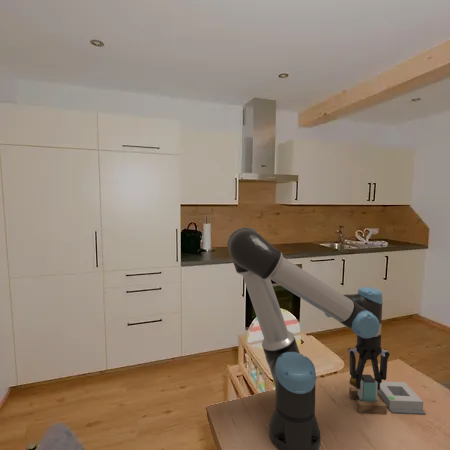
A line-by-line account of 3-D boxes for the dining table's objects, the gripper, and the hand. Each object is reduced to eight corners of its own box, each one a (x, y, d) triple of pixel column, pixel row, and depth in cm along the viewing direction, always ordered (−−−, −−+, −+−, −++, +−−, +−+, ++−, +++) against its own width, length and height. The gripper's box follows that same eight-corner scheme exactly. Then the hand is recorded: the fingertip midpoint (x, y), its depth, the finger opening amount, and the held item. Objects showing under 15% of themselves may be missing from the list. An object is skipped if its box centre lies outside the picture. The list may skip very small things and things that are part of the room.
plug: (363, 408, 101) (364, 380, 100) (358, 400, 105) (359, 373, 104) (375, 408, 100) (376, 380, 100) (370, 401, 104) (371, 374, 104)
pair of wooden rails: (359, 413, 98) (359, 404, 98) (349, 395, 107) (349, 387, 107) (386, 414, 98) (386, 405, 97) (374, 396, 107) (374, 388, 107)
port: (391, 413, 98) (392, 402, 98) (373, 387, 112) (373, 377, 112) (425, 414, 97) (426, 403, 97) (402, 388, 111) (403, 378, 111)
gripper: (347, 336, 98) (345, 403, 99) (400, 338, 97) (398, 405, 98) (340, 327, 105) (338, 389, 107) (389, 328, 104) (387, 391, 106)
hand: (367, 397), depth 102 cm, fingers open, 4 cm apart
